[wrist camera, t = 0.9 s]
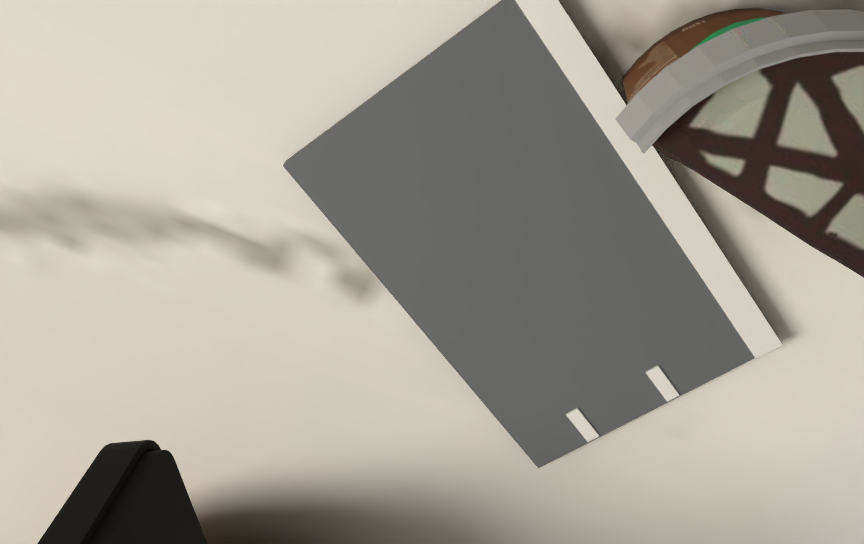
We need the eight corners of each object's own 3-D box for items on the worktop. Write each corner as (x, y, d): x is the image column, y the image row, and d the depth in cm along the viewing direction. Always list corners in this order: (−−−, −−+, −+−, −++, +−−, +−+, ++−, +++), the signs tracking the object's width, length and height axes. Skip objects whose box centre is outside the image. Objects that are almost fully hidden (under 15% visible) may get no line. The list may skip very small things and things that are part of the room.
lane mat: (540, -29, 29) (541, -26, 28) (777, 336, 34) (782, 345, 34) (286, 160, 33) (282, 166, 32) (538, 459, 38) (538, 469, 38)
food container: (973, 89, 29) (1178, 191, 20) (849, 223, 32) (983, 364, 23) (696, -103, 27) (791, -84, 18) (588, 57, 30) (624, 142, 21)
